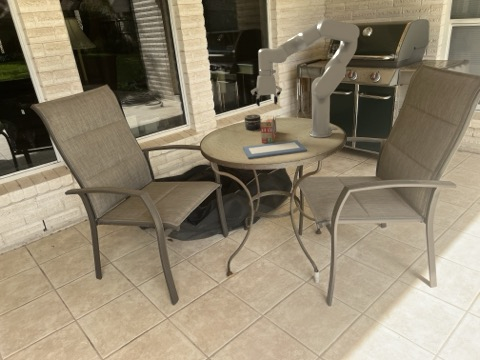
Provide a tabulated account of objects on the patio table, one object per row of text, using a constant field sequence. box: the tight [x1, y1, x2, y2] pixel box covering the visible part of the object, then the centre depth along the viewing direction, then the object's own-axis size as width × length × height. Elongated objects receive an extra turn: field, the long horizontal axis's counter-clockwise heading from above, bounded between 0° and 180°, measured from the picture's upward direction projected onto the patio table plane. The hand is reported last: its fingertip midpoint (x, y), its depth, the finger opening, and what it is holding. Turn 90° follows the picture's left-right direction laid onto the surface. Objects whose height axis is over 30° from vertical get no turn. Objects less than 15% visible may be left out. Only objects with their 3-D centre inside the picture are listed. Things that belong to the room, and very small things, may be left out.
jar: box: [244, 114, 262, 131], centre depth 229 cm, size 10×10×8 cm
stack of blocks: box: [260, 115, 277, 144], centre depth 209 cm, size 21×6×12 cm, turn 170°
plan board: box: [242, 139, 308, 160], centre depth 191 cm, size 30×16×1 cm, turn 100°
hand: (266, 104), depth 204 cm, fingers open, 9 cm apart
